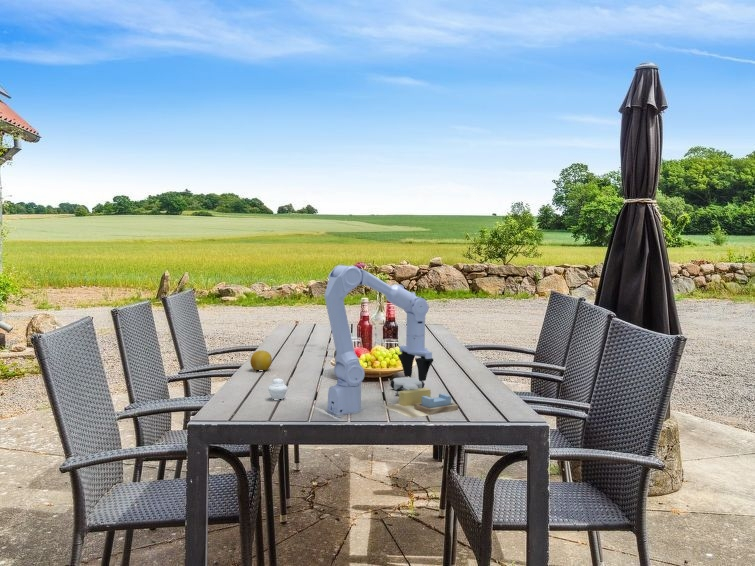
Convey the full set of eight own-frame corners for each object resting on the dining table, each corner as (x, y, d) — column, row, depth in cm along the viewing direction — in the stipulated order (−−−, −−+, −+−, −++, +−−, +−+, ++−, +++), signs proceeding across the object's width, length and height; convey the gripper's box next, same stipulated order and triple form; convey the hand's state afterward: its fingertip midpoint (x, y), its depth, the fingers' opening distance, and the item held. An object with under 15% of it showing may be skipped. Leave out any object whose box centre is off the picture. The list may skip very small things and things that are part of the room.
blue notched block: (442, 406, 193) (442, 393, 193) (450, 409, 189) (450, 396, 189) (421, 409, 188) (421, 396, 188) (429, 412, 185) (429, 399, 185)
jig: (411, 421, 179) (411, 412, 179) (381, 409, 192) (381, 401, 192) (459, 413, 189) (460, 404, 189) (428, 402, 202) (428, 394, 202)
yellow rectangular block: (404, 406, 192) (404, 393, 192) (398, 404, 195) (398, 391, 195) (430, 402, 198) (430, 389, 198) (424, 400, 200) (424, 387, 200)
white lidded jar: (266, 398, 206) (266, 376, 205) (284, 396, 208) (284, 375, 208) (270, 402, 200) (270, 380, 199) (289, 400, 202) (289, 379, 202)
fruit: (269, 373, 247) (269, 352, 246) (248, 372, 247) (248, 352, 246) (273, 368, 255) (273, 349, 255) (253, 368, 256) (253, 349, 255)
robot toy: (430, 401, 207) (422, 388, 222) (431, 388, 206) (422, 375, 221) (393, 402, 205) (387, 388, 220) (394, 388, 205) (388, 376, 220)
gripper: (440, 337, 191) (439, 381, 192) (412, 331, 203) (411, 373, 204) (421, 338, 187) (421, 383, 188) (394, 332, 200) (393, 375, 200)
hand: (415, 378), depth 196 cm, fingers open, 7 cm apart
